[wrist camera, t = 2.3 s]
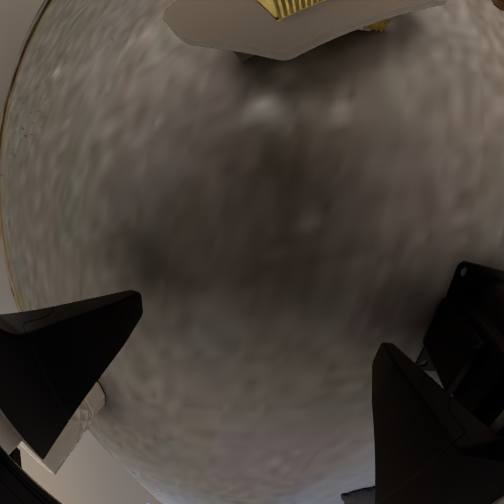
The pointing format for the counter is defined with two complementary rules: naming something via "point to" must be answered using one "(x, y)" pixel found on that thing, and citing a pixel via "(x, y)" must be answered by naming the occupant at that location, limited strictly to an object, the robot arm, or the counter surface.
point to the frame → (499, 4)
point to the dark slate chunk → (360, 496)
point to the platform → (280, 23)
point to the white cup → (71, 431)
